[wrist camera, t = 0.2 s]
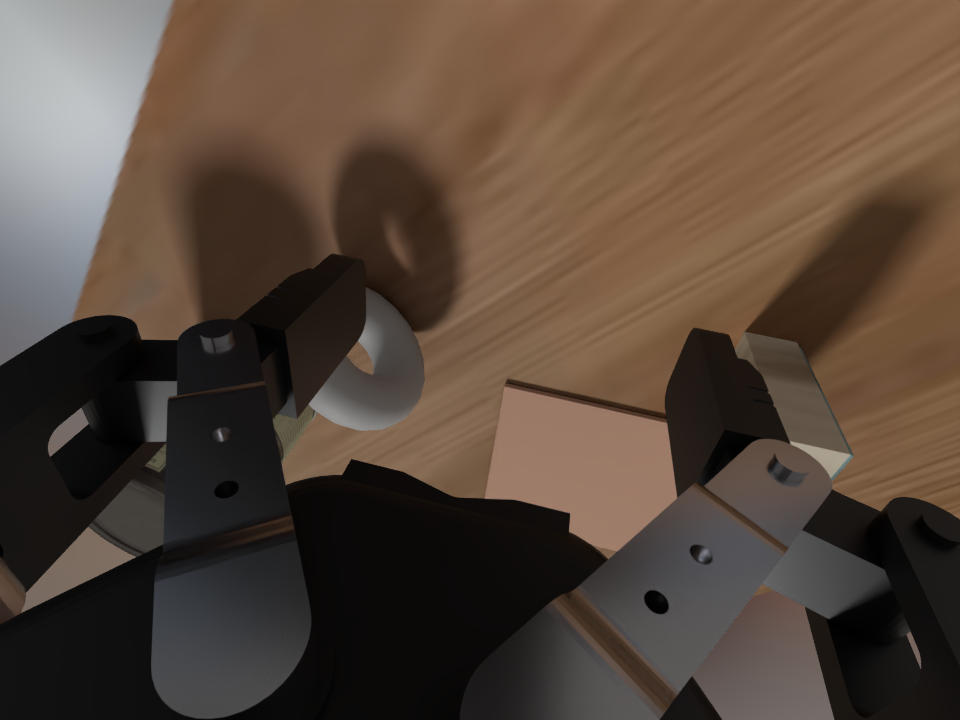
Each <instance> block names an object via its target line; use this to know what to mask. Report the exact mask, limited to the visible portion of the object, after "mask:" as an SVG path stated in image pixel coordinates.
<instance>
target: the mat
mask: <svg viewBox="0 0 960 720" xmlns="http://www.w3.org/2000/svg"><path fill="white" fill-rule="evenodd" d="M485 499H510V500H518V501H522V502H526V503H530V504H534V505H538V506H542V507H546V508H550V509H554V510H558V511H562V512H567V513H570V525H569V532H571V533H573V534H575V535H577V536H578V537H580V538H582V539H583V540H585V541H586V542H588V543H589V544H591V545H594V546H598V547H602V548H606V549H609V550H613V551H619V550H620V549H621V548H622V547H623V546H624V545H625V544H626V543H627V542H629V541H630V540H631V539H632V538H633V537H634V536H635V535H636V534H638V533H639V532H640V531H641V530H642V529H643V528H644V527H645V526H647V525H648V524H649V523H650V522H651V521H652V520H653V519H654V518H656V517H657V516H658V515H659V514H660V513H661V512H662V511H663V510H665V509H666V508H667V507H668V506H669V505H670V504H671V503H672V502H674V501H675V500H676V499H677V493H676V485H675V478H674V470H673V463H672V456H671V448H670V441H669V433H668V426H667V419H664V418H659V417H655V416H650V415H646V414H641V413H637V412H632V411H628V410H623V409H619V408H615V407H610V406H606V405H601V404H597V403H592V402H588V401H583V400H579V399H574V398H570V397H565V396H561V395H557V394H552V393H548V392H543V391H539V390H534V389H530V388H525V387H521V386H516V385H512V384H508V383H505V387H504V393H503V398H502V404H501V409H500V415H499V421H498V426H497V432H496V438H495V443H494V449H493V454H492V460H491V466H490V471H489V477H488V483H487V488H486V494H485Z"/></svg>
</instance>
